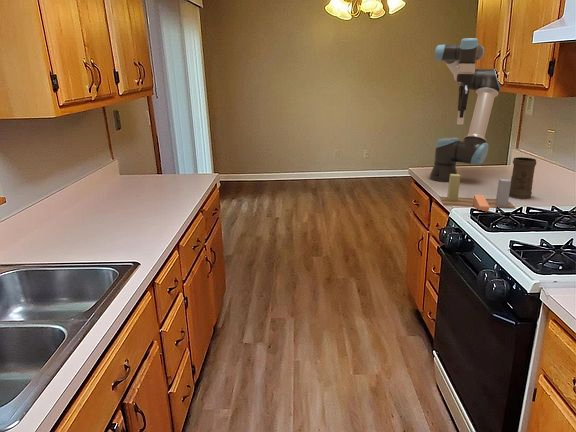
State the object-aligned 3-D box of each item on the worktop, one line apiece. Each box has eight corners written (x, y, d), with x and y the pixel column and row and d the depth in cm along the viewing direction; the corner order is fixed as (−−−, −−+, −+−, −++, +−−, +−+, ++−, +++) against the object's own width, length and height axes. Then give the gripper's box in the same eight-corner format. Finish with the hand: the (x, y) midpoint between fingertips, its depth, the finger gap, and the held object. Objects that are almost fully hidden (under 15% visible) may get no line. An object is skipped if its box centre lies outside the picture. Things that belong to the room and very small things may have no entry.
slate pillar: (495, 204, 208) (499, 178, 205) (504, 204, 208) (508, 179, 204) (497, 207, 205) (501, 180, 201) (507, 207, 204) (511, 181, 200)
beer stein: (534, 202, 215) (540, 160, 210) (510, 201, 217) (515, 159, 212) (524, 196, 230) (530, 156, 225) (502, 195, 232) (507, 155, 227)
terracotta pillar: (474, 194, 207) (479, 206, 197) (483, 195, 206) (489, 206, 196) (472, 202, 209) (478, 214, 198) (482, 202, 208) (487, 214, 198)
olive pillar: (447, 198, 218) (449, 173, 214) (456, 198, 218) (458, 174, 214) (448, 200, 214) (451, 175, 211) (457, 201, 214) (460, 176, 210)
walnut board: (438, 199, 221) (438, 196, 221) (506, 201, 216) (507, 199, 216) (443, 208, 207) (443, 205, 207) (516, 211, 202) (516, 208, 202)
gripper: (455, 73, 221) (449, 122, 229) (459, 73, 209) (454, 125, 217) (471, 73, 220) (465, 122, 228) (477, 73, 208) (470, 126, 215)
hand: (460, 124), depth 222 cm, fingers closed
